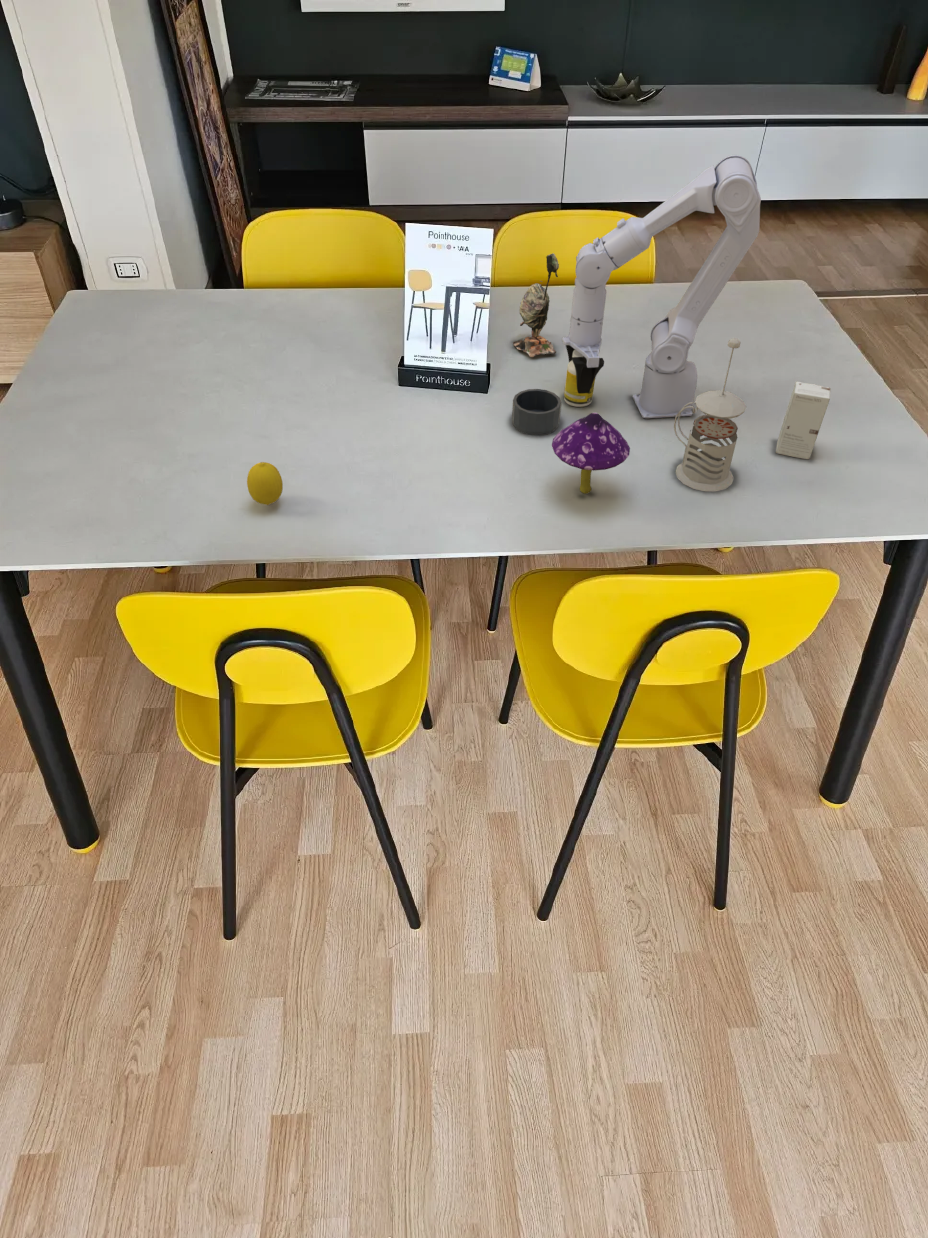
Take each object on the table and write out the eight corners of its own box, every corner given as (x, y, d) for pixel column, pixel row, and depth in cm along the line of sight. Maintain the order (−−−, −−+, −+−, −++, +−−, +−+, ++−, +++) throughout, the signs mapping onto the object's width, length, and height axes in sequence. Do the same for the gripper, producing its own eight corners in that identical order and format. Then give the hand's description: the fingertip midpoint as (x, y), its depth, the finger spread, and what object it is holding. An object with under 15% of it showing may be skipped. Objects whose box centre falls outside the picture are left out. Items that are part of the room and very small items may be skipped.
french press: (721, 498, 157) (755, 360, 140) (656, 476, 161) (682, 339, 144) (741, 470, 163) (776, 334, 146) (678, 449, 167) (705, 315, 150)
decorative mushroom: (634, 508, 154) (648, 428, 144) (563, 520, 152) (572, 440, 141) (605, 466, 163) (616, 388, 153) (536, 477, 160) (543, 398, 150)
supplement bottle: (590, 409, 177) (596, 361, 170) (562, 406, 177) (566, 358, 171) (593, 395, 181) (599, 347, 174) (565, 391, 181) (570, 344, 175)
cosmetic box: (775, 454, 167) (792, 392, 158) (776, 441, 170) (794, 380, 162) (811, 460, 165) (830, 399, 157) (812, 447, 169) (831, 386, 160)
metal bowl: (553, 409, 177) (555, 387, 174) (563, 434, 170) (565, 412, 167) (508, 411, 176) (509, 390, 173) (516, 436, 169) (517, 414, 166)
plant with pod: (545, 332, 199) (553, 237, 185) (558, 358, 191) (568, 260, 177) (508, 335, 198) (512, 239, 184) (519, 361, 190) (525, 263, 176)
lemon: (252, 495, 155) (245, 453, 150) (286, 493, 156) (280, 452, 150) (249, 515, 151) (242, 473, 146) (284, 514, 152) (278, 472, 146)
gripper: (556, 298, 172) (551, 366, 182) (574, 335, 162) (567, 405, 171) (594, 296, 173) (586, 364, 182) (614, 333, 163) (604, 403, 172)
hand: (579, 384), depth 177 cm, fingers closed on supplement bottle, 5 cm apart
